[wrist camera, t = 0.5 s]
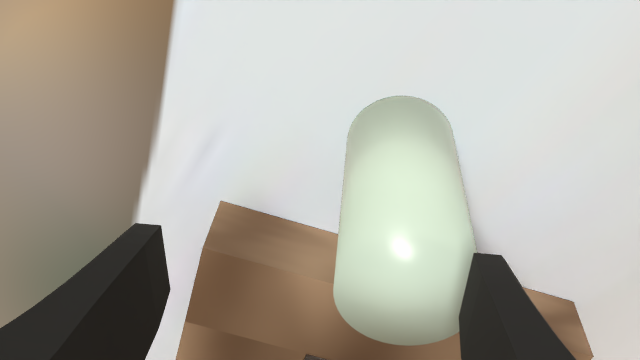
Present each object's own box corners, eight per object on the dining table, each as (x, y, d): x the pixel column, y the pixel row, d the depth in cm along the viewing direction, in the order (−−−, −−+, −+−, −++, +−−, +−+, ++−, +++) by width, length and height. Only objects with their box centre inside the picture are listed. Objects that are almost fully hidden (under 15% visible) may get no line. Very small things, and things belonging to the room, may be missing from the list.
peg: (471, 114, 22) (511, 262, 15) (429, 198, 24) (447, 359, 17) (367, 81, 21) (361, 218, 15) (333, 170, 24) (315, 324, 17)
